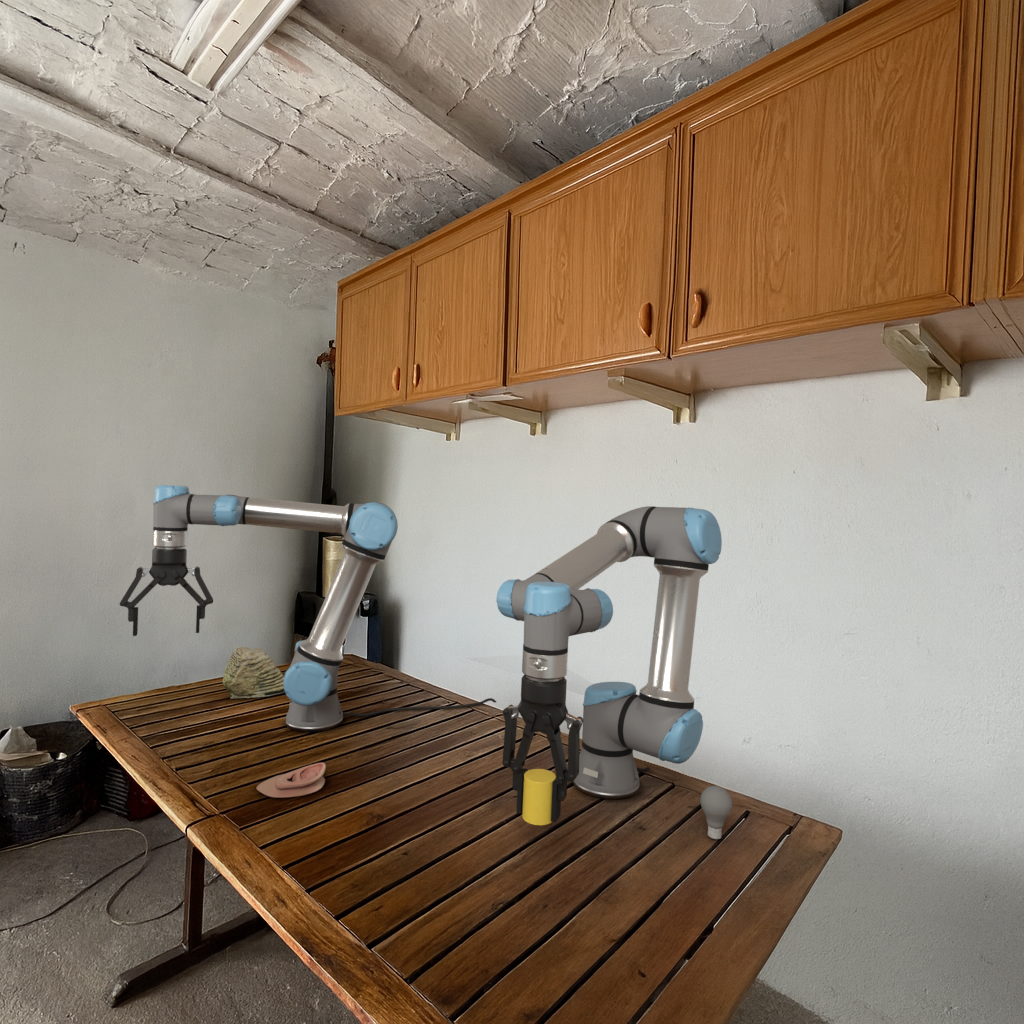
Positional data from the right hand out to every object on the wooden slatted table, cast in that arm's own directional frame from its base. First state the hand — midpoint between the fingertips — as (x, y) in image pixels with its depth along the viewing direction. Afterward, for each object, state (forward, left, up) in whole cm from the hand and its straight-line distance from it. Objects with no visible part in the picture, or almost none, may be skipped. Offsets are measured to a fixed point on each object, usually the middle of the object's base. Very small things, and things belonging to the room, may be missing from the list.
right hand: (538, 813), depth 106 cm
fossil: (+43, -117, -12) cm, 126 cm away
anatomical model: (+36, -49, -12) cm, 62 cm away
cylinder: (0, 0, -1) cm, 1 cm away
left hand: (+64, -82, +15) cm, 105 cm away
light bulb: (-40, -3, -12) cm, 42 cm away
